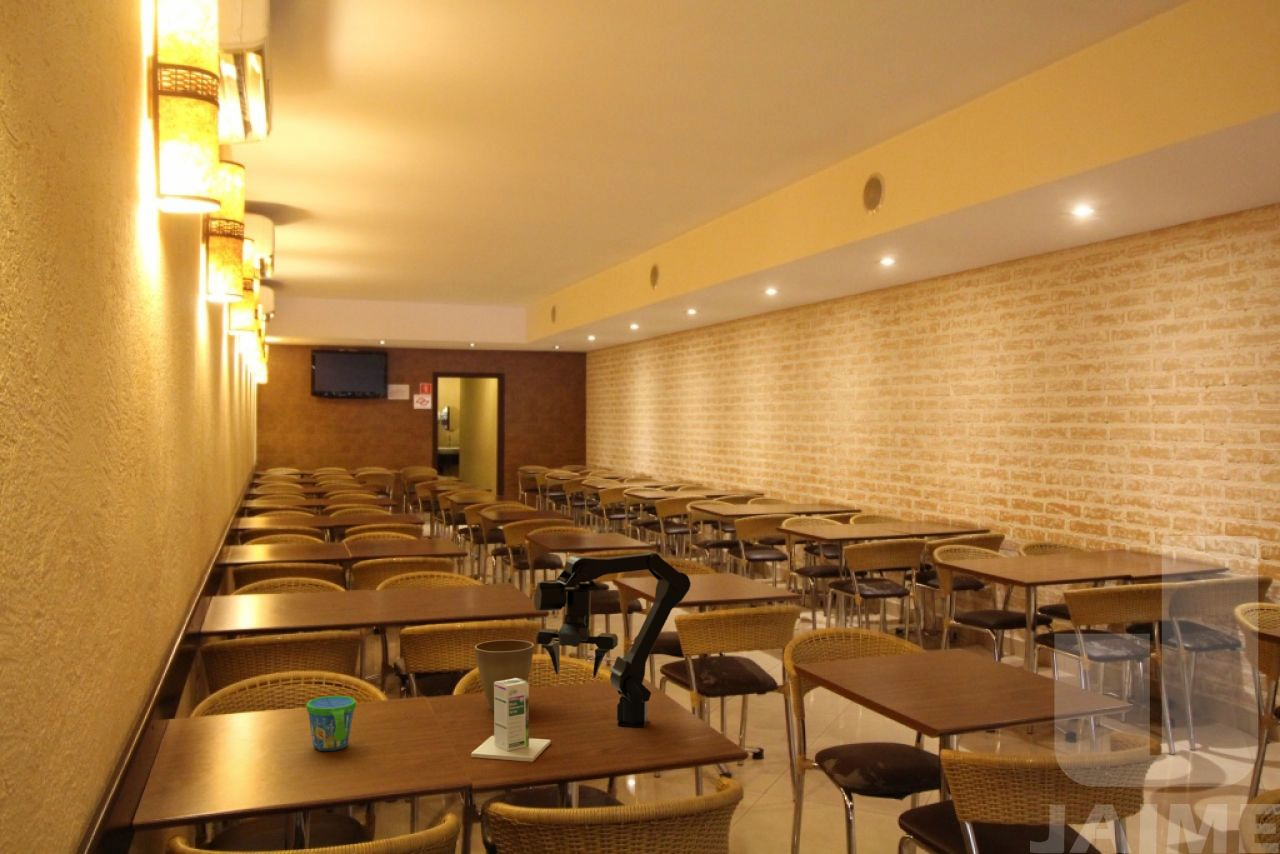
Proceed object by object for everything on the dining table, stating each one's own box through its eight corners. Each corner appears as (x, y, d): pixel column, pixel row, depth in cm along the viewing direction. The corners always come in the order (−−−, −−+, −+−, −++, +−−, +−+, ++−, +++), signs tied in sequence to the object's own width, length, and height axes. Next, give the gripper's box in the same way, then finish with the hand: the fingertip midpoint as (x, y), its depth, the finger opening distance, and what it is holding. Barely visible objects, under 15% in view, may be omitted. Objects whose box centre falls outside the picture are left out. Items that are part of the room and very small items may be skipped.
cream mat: (550, 743, 234) (550, 739, 234) (532, 761, 222) (532, 758, 221) (491, 739, 237) (491, 735, 237) (471, 756, 224) (471, 753, 224)
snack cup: (361, 754, 226) (361, 707, 226) (311, 760, 221) (311, 713, 221) (349, 734, 240) (349, 690, 240) (302, 740, 236) (302, 695, 236)
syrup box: (507, 752, 225) (507, 685, 225) (493, 745, 230) (493, 680, 230) (529, 747, 229) (529, 681, 229) (515, 740, 234) (515, 676, 233)
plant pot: (541, 701, 269) (541, 640, 269) (522, 717, 254) (522, 653, 254) (487, 698, 272) (488, 637, 272) (465, 713, 258) (465, 649, 258)
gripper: (529, 612, 239) (527, 679, 239) (608, 617, 235) (605, 686, 235) (544, 604, 250) (542, 669, 249) (619, 610, 246) (617, 675, 245)
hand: (575, 675), depth 244 cm, fingers open, 9 cm apart
